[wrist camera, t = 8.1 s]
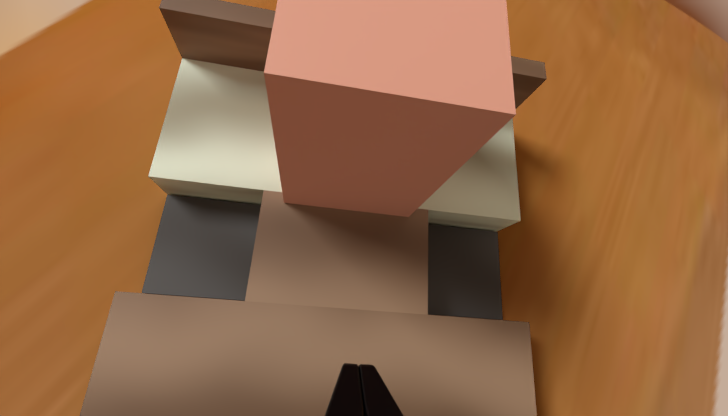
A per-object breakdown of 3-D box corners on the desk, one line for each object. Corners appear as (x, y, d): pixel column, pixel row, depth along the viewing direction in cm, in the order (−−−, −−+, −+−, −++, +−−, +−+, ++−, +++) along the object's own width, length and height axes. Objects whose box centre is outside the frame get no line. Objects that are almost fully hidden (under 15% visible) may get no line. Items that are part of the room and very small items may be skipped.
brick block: (408, 217, 17) (516, 114, 8) (284, 202, 16) (263, 72, 8) (411, 96, 19) (498, -81, 11) (302, 78, 18) (302, -131, 10)
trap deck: (514, 570, 15) (623, 699, 10) (66, 586, 13) (-94, 768, 8) (489, 121, 23) (544, 62, 17) (200, 74, 20) (165, -11, 15)
